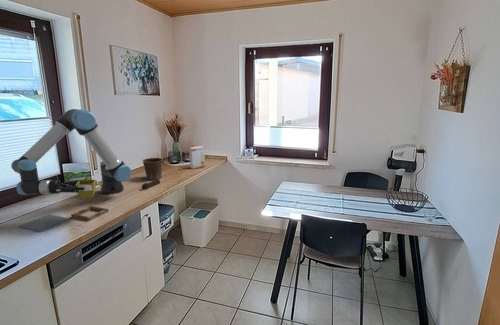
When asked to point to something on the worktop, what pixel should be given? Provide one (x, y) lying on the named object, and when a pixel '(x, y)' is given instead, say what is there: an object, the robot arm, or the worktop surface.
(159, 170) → the plant pot
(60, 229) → the worktop surface
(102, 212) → the square wooden frame
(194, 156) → the cracker box
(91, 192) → the flower pot
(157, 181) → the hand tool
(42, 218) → the mat
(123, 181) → the robot arm
